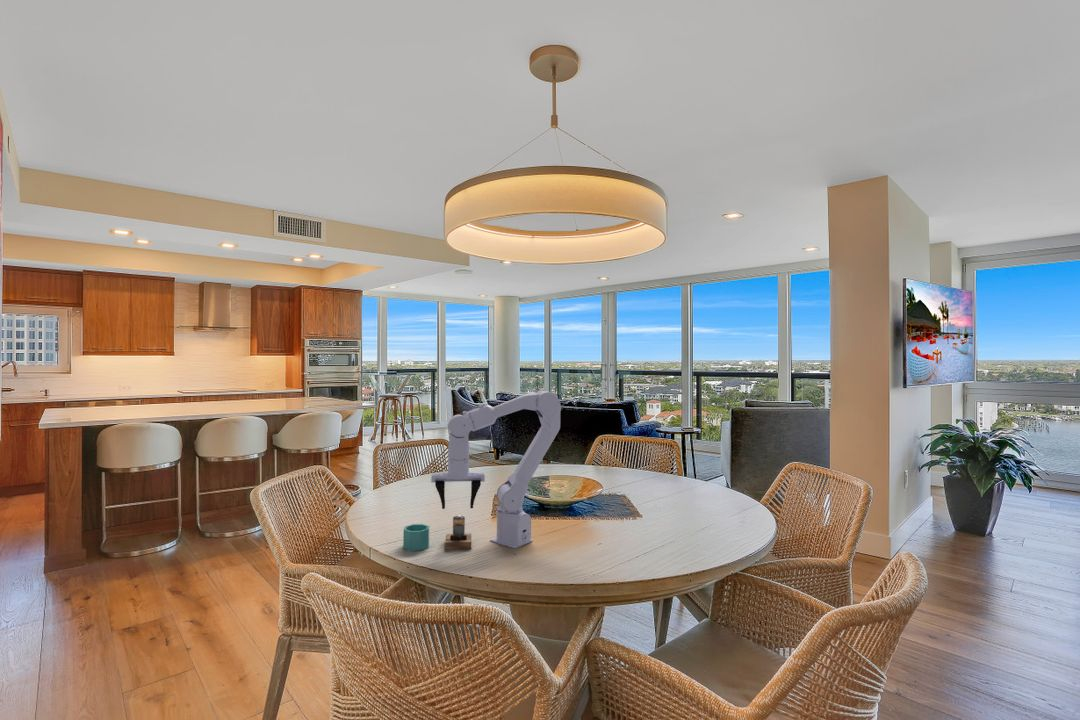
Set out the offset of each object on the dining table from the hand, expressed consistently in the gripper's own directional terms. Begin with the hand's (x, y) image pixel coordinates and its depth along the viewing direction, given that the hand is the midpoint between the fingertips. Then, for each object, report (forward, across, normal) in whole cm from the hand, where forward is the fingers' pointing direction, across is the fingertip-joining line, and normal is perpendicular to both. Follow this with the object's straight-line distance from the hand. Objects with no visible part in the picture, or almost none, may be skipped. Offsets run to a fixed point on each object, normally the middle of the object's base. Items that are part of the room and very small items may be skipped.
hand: (457, 507), depth 149 cm
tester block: (+10, 0, +2) cm, 10 cm away
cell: (+10, 0, +2) cm, 10 cm away
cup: (+10, +11, +1) cm, 15 cm away
